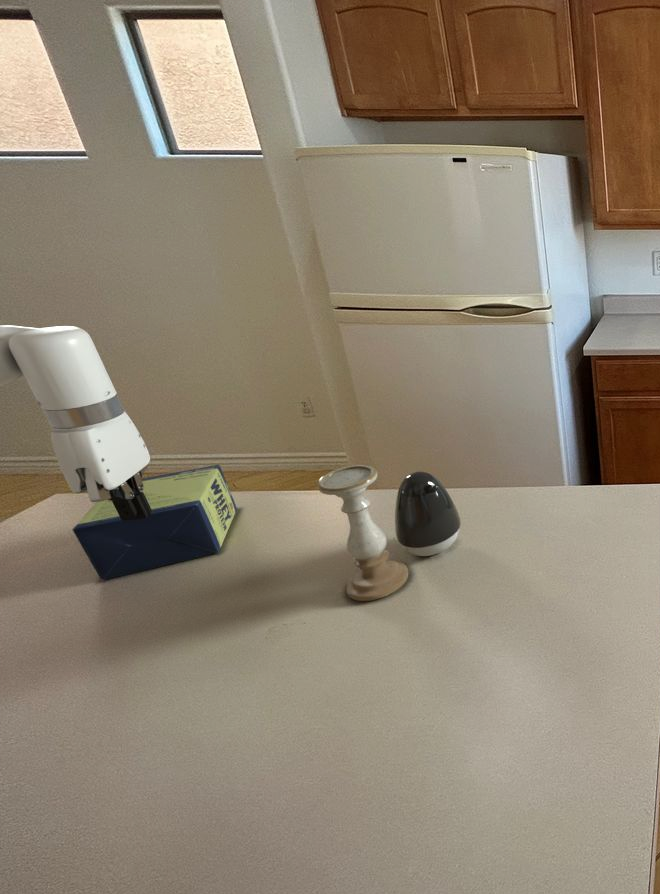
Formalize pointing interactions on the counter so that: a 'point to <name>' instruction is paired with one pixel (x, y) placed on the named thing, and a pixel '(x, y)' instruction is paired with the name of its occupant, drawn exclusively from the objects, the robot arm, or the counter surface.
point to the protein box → (160, 524)
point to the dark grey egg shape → (425, 515)
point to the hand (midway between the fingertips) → (137, 516)
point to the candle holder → (364, 535)
